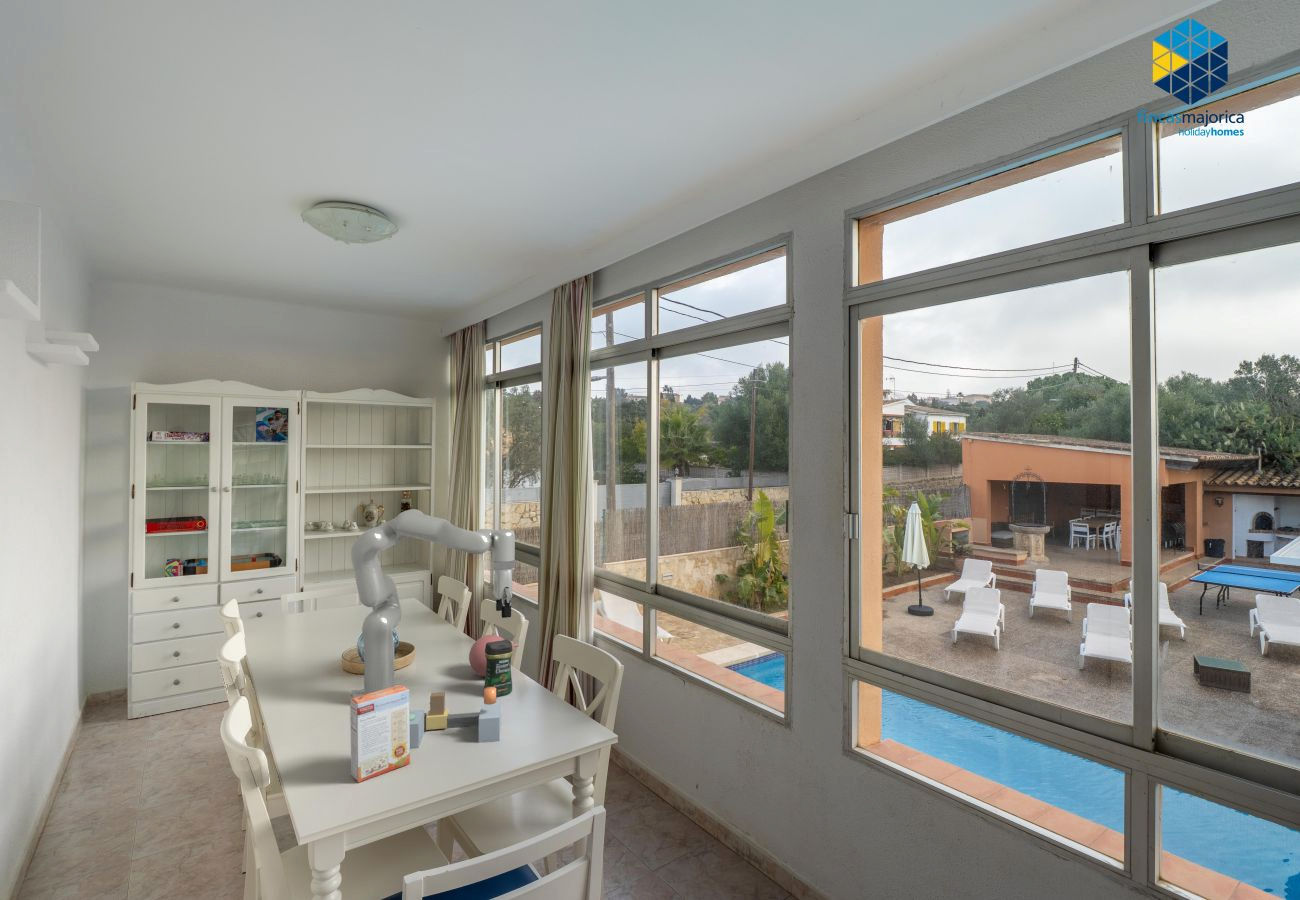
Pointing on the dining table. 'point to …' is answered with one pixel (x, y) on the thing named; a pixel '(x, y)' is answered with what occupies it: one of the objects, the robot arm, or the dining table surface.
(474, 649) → the pink rounded piece
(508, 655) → the coffee jar
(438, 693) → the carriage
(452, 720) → the rail
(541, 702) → the dining table surface
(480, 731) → the cabinet far
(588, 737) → the dining table surface
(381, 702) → the cracker box
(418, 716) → the cabinet near
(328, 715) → the dining table surface
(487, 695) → the orange rounded cube
